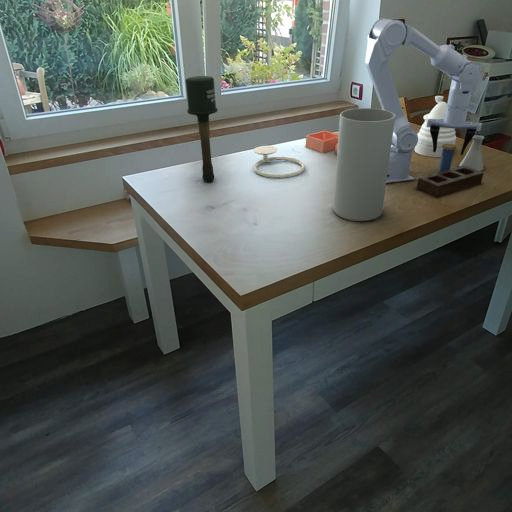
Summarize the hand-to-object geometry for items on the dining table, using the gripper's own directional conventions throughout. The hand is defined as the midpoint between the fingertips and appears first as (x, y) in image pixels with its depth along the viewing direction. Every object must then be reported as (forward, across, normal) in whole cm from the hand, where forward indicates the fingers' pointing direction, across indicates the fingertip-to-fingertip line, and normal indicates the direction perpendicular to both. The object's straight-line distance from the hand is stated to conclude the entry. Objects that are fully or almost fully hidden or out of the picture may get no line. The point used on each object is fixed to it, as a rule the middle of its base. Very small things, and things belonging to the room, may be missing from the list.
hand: (448, 152), depth 132 cm
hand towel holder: (+7, +51, +13) cm, 53 cm away
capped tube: (+7, 0, 0) cm, 7 cm away
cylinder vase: (+7, +18, +36) cm, 40 cm away
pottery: (+7, +39, -10) cm, 41 cm away
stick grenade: (+7, +66, +31) cm, 73 cm away
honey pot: (+7, +5, -21) cm, 23 cm away
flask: (+7, -7, -8) cm, 13 cm away
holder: (+7, -2, +10) cm, 12 cm away
